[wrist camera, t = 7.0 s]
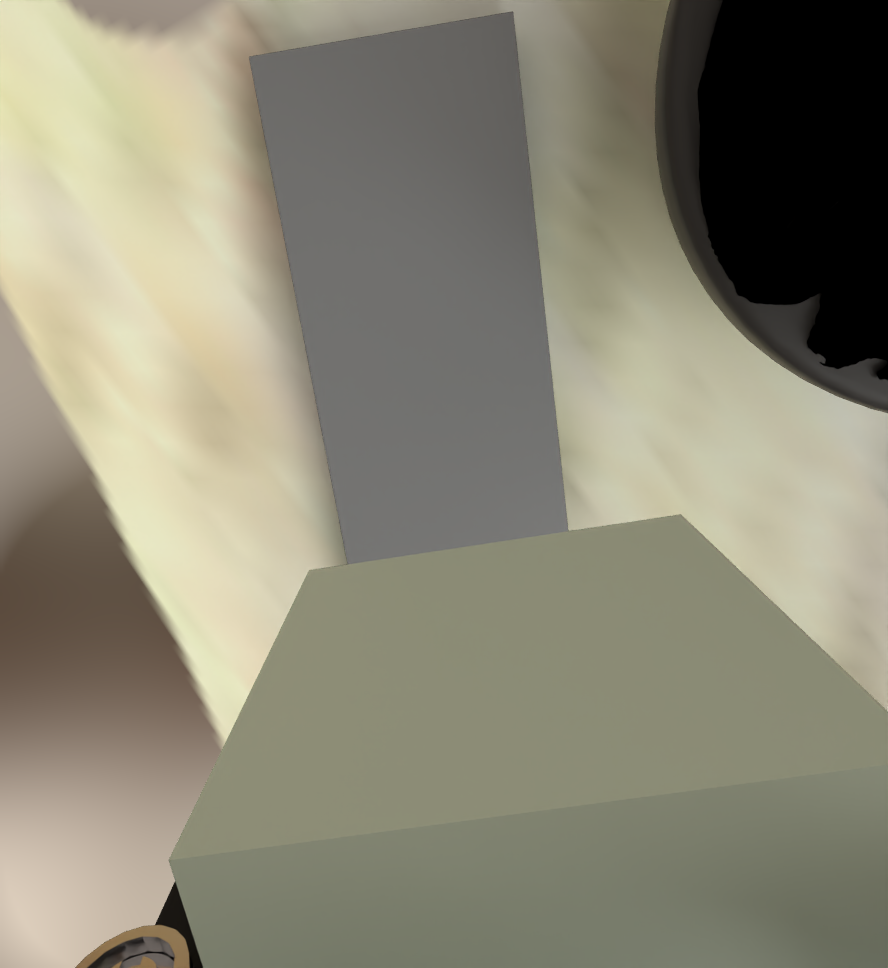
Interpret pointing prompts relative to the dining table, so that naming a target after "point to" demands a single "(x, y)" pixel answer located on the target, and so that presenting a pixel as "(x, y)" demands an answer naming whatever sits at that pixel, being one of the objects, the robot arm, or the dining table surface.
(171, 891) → the robot arm
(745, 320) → the coal bowl
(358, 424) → the board
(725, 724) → the block
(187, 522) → the dining table surface
